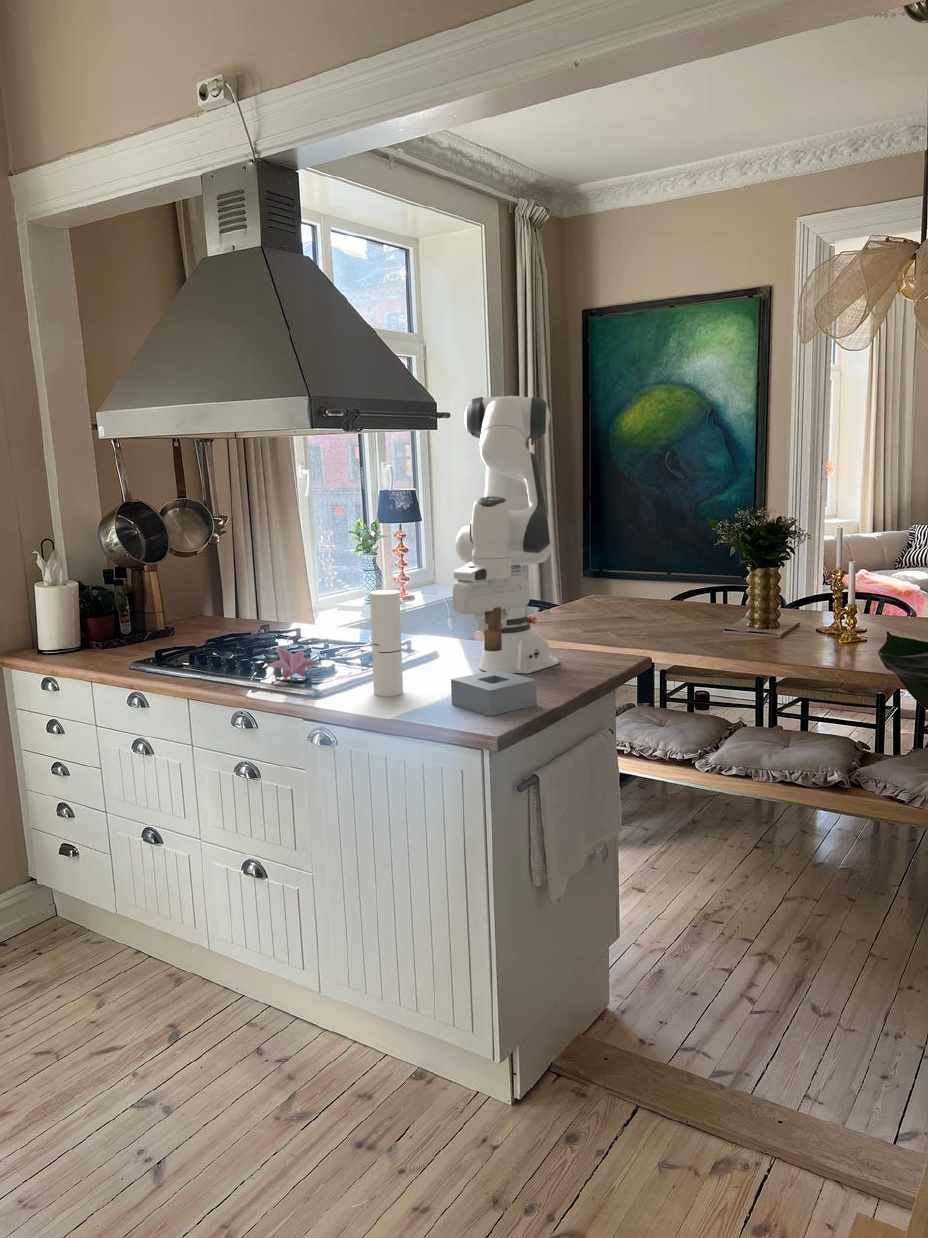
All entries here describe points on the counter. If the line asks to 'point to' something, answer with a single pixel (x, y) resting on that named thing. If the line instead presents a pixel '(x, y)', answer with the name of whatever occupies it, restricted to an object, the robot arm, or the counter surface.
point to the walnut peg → (493, 630)
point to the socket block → (494, 692)
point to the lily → (293, 663)
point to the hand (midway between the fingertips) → (492, 629)
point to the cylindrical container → (386, 642)
